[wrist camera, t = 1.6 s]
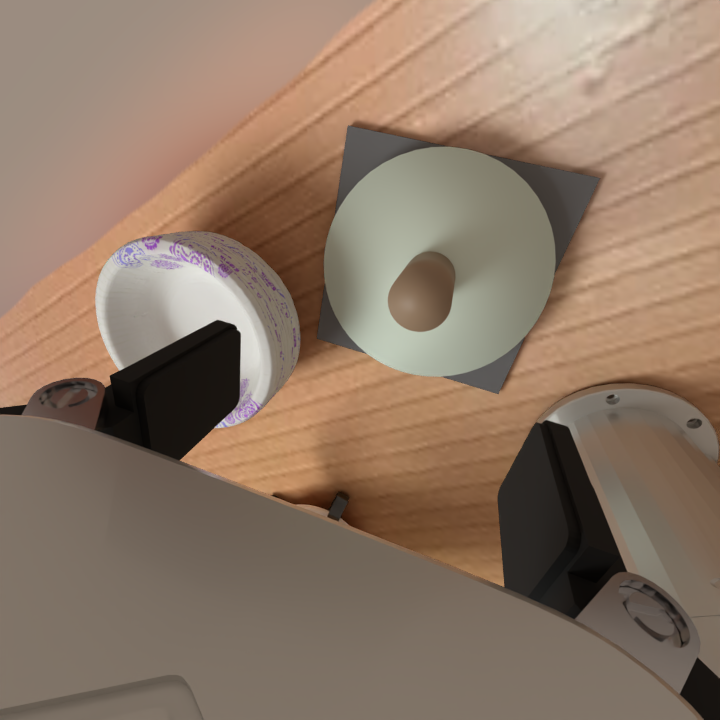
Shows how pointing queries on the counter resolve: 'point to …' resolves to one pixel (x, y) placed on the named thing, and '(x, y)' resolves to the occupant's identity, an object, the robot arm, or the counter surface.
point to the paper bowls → (200, 307)
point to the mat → (552, 186)
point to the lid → (439, 261)
